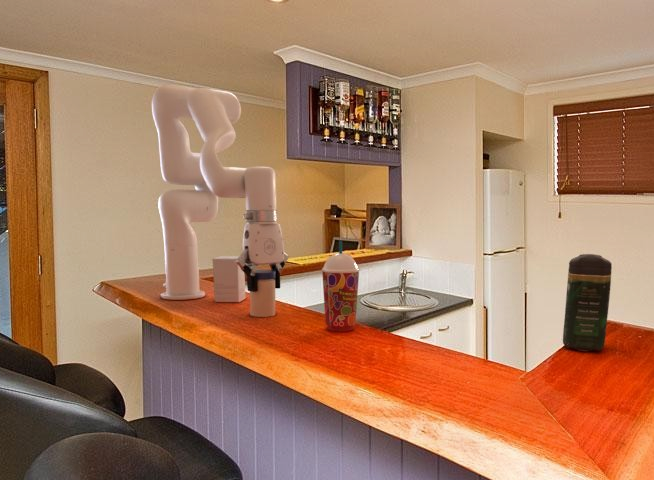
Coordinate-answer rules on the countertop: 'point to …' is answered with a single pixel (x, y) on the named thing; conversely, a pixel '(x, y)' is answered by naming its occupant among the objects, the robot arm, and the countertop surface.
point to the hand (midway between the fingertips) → (264, 289)
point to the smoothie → (340, 291)
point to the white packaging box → (228, 279)
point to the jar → (263, 299)
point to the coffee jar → (587, 302)
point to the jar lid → (265, 274)
